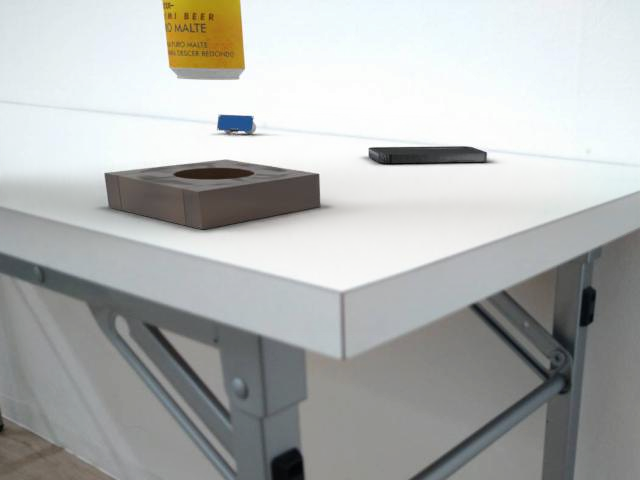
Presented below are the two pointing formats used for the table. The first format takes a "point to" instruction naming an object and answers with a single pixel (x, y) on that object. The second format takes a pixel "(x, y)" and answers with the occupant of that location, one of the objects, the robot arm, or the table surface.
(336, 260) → the table surface
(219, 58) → the beer can
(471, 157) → the phone
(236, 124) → the ultrasonic sensor
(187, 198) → the can holder
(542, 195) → the table surface
